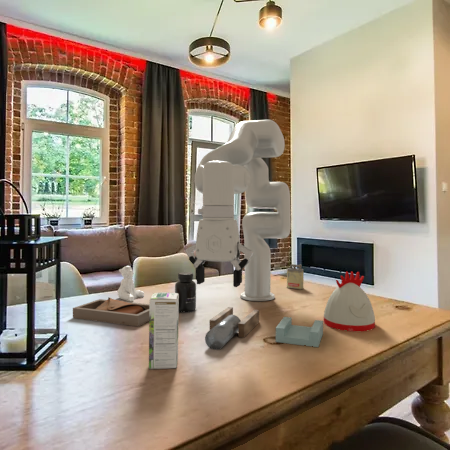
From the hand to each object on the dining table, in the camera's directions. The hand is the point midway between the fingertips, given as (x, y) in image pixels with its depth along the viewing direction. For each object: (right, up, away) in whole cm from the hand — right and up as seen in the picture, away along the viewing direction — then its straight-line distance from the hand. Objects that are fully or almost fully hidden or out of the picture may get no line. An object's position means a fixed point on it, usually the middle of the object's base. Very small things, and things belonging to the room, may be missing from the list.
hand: (218, 284), depth 89 cm
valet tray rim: (-31, -13, +23) cm, 41 cm away
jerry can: (+31, -12, +64) cm, 72 cm away
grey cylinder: (+1, -14, +3) cm, 15 cm away
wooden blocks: (+5, -14, +12) cm, 19 cm away
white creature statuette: (-34, -13, +46) cm, 59 cm away
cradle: (+21, -14, +4) cm, 25 cm away
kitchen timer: (+37, -14, +16) cm, 43 cm away
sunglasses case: (-31, -13, +23) cm, 41 cm away
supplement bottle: (-11, -13, +30) cm, 35 cm away
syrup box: (-11, -15, -12) cm, 22 cm away
